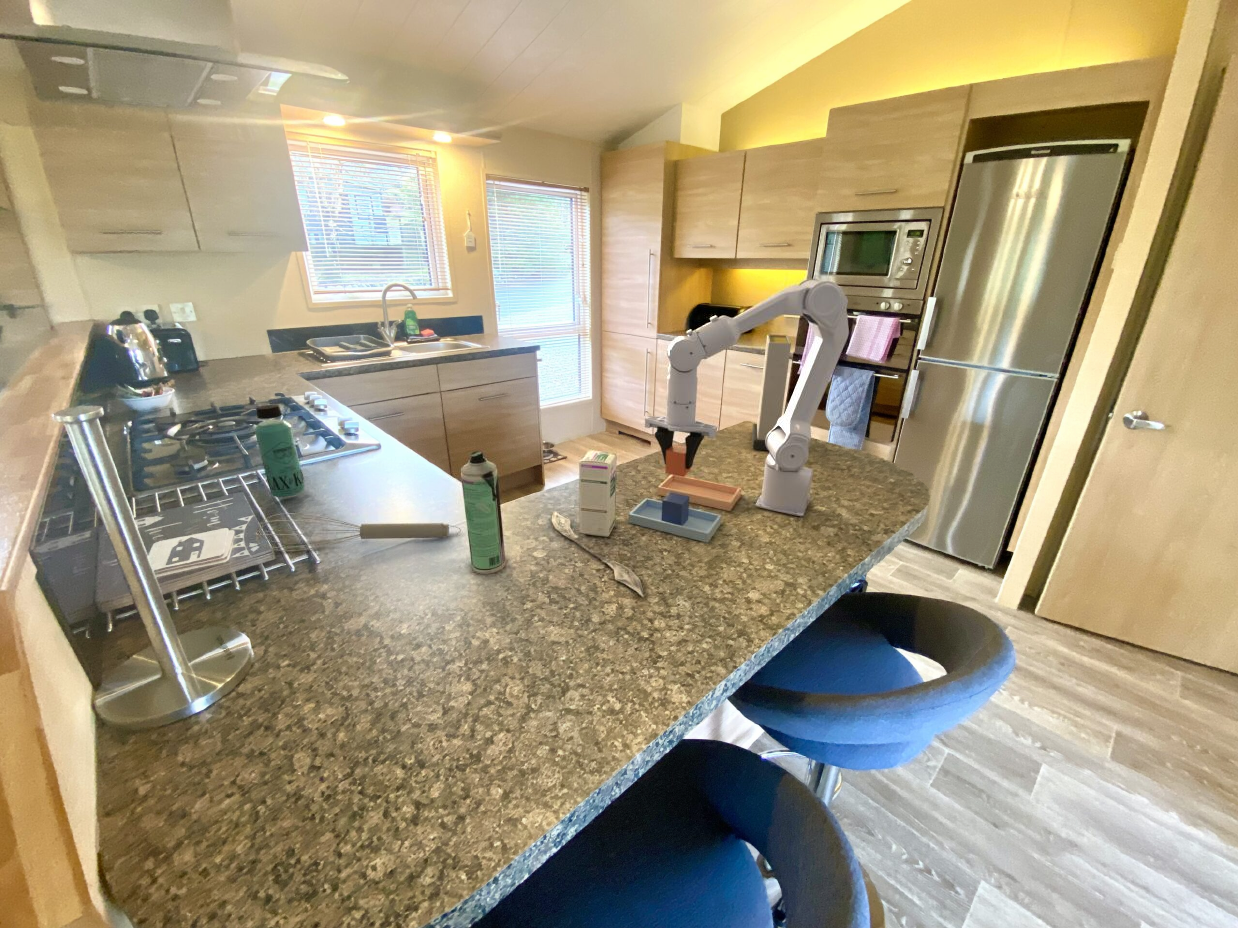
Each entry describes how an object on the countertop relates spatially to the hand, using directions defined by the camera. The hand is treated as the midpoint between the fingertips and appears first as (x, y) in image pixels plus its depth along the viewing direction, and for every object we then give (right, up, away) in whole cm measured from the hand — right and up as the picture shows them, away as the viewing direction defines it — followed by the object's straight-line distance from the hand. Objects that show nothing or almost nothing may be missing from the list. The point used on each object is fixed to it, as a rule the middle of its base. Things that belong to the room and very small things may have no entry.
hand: (678, 465), depth 105 cm
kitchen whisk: (-58, -14, -13) cm, 61 cm away
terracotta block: (0, -1, 0) cm, 1 cm away
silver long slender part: (-17, -15, -15) cm, 27 cm away
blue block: (-1, -11, -6) cm, 12 cm away
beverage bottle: (-82, -7, +4) cm, 82 cm away
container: (+29, +6, +37) cm, 48 cm away
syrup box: (-16, -12, -8) cm, 22 cm away
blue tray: (-1, -11, -6) cm, 13 cm away
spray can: (-34, -17, -19) cm, 42 cm away
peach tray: (+5, -7, +6) cm, 10 cm away
